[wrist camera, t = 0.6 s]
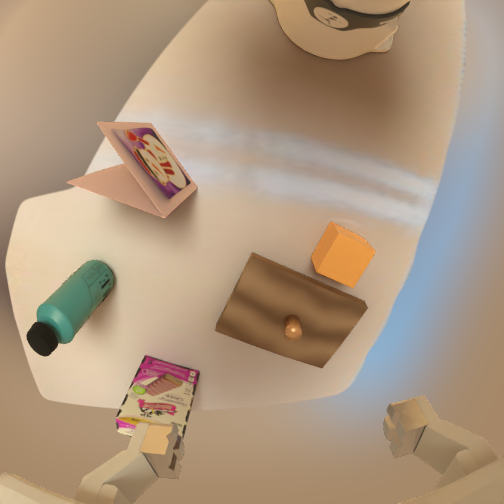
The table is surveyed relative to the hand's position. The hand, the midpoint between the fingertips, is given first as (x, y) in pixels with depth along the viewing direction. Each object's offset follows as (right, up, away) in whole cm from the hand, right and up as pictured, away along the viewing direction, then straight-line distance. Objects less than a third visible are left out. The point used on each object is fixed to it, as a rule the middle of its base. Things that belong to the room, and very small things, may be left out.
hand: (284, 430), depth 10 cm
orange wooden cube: (+11, +7, +33) cm, 36 cm away
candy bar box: (-17, -16, +44) cm, 50 cm away
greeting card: (-14, +18, +30) cm, 38 cm away
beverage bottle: (-26, +3, +36) cm, 45 cm away
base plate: (+5, -3, +38) cm, 38 cm away
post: (+5, -4, +36) cm, 36 cm away
